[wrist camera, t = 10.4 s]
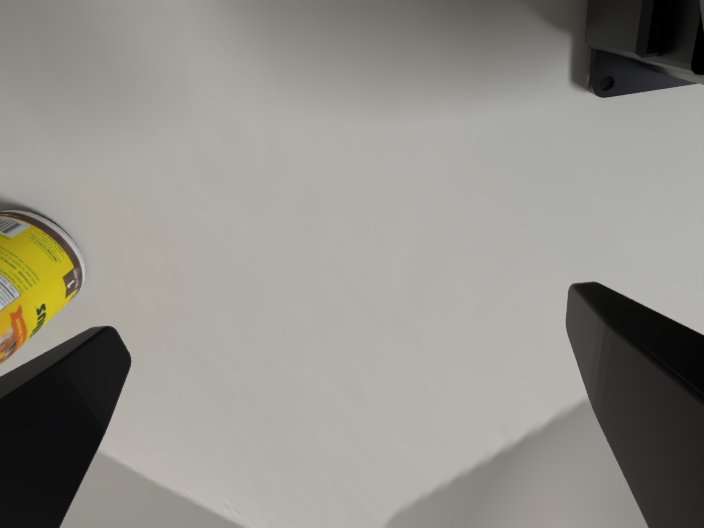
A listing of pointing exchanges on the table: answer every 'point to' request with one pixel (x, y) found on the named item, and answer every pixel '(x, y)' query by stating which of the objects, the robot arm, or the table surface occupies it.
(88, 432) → the robot arm
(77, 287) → the supplement bottle
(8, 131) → the table surface
